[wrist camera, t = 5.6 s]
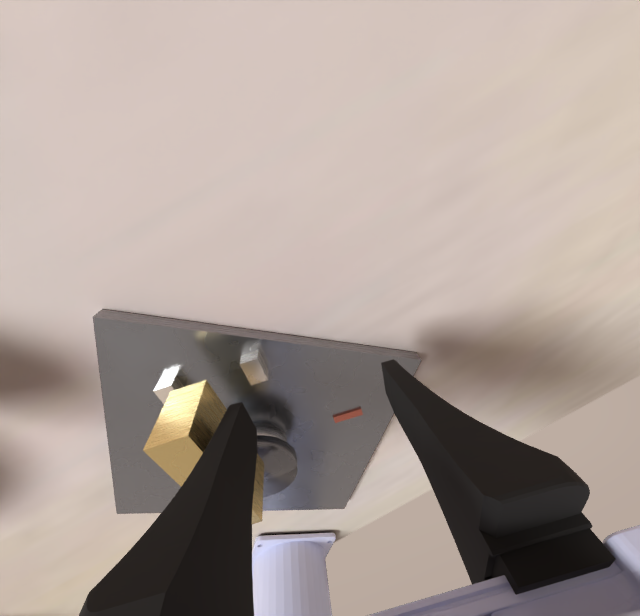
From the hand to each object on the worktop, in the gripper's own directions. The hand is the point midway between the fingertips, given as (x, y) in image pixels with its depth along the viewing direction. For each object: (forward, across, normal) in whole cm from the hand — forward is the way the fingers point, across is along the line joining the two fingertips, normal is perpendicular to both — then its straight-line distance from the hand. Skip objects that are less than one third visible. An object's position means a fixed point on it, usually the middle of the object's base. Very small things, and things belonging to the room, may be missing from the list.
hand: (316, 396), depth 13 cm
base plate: (+4, +5, +6) cm, 9 cm away
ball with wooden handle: (+2, +5, +3) cm, 7 cm away
